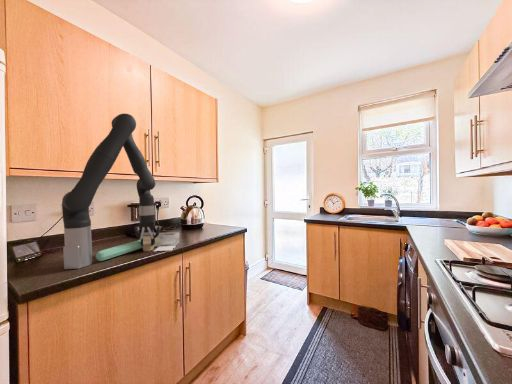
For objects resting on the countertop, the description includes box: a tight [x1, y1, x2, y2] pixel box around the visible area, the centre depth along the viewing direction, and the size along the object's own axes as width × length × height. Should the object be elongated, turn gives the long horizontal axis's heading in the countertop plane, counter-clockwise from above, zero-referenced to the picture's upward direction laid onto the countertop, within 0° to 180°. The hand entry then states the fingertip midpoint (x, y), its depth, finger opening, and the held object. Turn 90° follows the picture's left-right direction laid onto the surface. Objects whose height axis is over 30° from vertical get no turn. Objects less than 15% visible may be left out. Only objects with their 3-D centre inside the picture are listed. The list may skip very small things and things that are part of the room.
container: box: [95, 238, 143, 262], centre depth 112 cm, size 6×6×25 cm
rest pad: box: [152, 245, 177, 253], centre depth 120 cm, size 9×9×1 cm
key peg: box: [142, 231, 155, 252], centre depth 119 cm, size 4×4×10 cm
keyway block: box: [154, 231, 180, 248], centre depth 131 cm, size 10×15×6 cm, turn 94°
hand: (148, 245), depth 119 cm, fingers open, 4 cm apart
